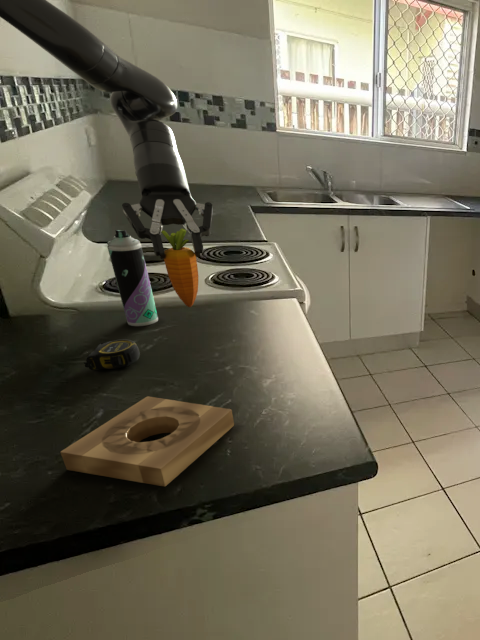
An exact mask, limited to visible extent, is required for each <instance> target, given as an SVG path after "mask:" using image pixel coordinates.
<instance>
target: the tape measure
mask: <svg viewBox="0 0 480 640" xmlns="http://www.w3.org/2000/svg"><path fill="white" fill-rule="evenodd" d="M140 353H141V352H140V349H139V347H138V344H137V343H136V342H135V341H134V340H132V339H116V340H110V341H103V342H101V343H99V344H98V345H97V346H96V347H95V348H94V350H93V351H92V352H91V353H90V354H88V355H87V357H86V359H85V361H83V365H84V367H85V368H88V369H90V370H91V371H98V370H102V369H104V370H115V369H120V368H121V369H122V368H126V367H127V366H130V365H133V364H134V363H136V362H138V360H139V358H140V355H141V354H140Z"/></svg>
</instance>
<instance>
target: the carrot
mask: <svg viewBox="0 0 480 640" xmlns="http://www.w3.org/2000/svg"><path fill="white" fill-rule="evenodd" d="M187 233H188V231H187V230H186V229H185V228H180V229H179V230H177V231H176V232H171V233H170V235H169V233H168V232H167V231H166V230H163V229H162V231H161V234H162V235H163V236H164V237H165V239H166V240H167V241H168V243H169V244H170V246H171V247H170V248H167V249H164V252H165V258H166V259H163V261H164V265H165V270H166V272H167V275H168V279H169V281H170V283H171V285H172V288H173V290H174V292H175V294H176V295H177V296H178V297H179V299H180V301H182V303H183V304H184V305H185V306H186V307H187V308H192V307H193V305H194V303H195V301H196V299H197V295H198V292H199V269H198V261H197V257H196V256H195V252H194V250H193V249H191V248H189V247H187V246H186V245H187V244H188V243H189V242H190V240H189V239H188V238H187V239H185V236H186V234H187Z"/></svg>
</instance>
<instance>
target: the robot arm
mask: <svg viewBox="0 0 480 640" xmlns="http://www.w3.org/2000/svg"><path fill="white" fill-rule="evenodd" d="M0 18H1V19H2V20H4V21H5V22H6V23H8V24H9V25H11V27H13V28H14V29H16V30H17V31H19V32H20V33H22V34H23V35H24V36H26V37H27V38H29V40H31V41H32V42H34V44H36V45H37V46H39V47H40V48H42V49H43V50H44V51H45V52H47V53H48V54H49V55H51V56H52V57H54V59H56V60H57V61H58V62H60V64H62V65H64V66H65V67H66V68H68V69H69V70H70V71H71V72H73V73H74V74H75V75H77V76H78V77H79V78H81V79H82V80H83V81H85V82H86V83H87V84H89V85H90V86H91V87H93V88H94V89H97V90H98V91H100V92H104V93H111V94H110V98H109V104H110V107H111V109H112V110H113V112H114V113H115V115H116V117H117V118H118V119H119V121H120V122H121V124H122V126H123V128H124V130H125V132H126V133H127V135H128V137H129V141H130V146H131V150H132V155H133V167H134V171H135V176H136V179H137V183H138V188H139V192H140V197H141V198H140V200H139V202H138V203H133V204H130V203H129V202H123V203H122V204H121V207H122V212H123V214H124V216H125V218H126V220H127V221H128V223H129V224H130V226H131V227H132V230H133V231H134V233H135V234H136V236H137V237H138V238H139V239H140V240H143V239H144V240H145V239H147V240H150V241H151V243H152V248H153V252H154V255H155V256H156V257H160V258H159V259H161V260H164V259H166V258H165V252H164V251H165V248H164V244H163V240H162V235H161V234H162V233H161V231H163V228H164V226H169V225H179V226H180V225H182V226H183V229H185V230H186V231H187V233H189V235H190V238H191V245H192V248H193V252H194V253H195V256H196V258H197V257H198V258H199V257H201V254H204V244H203V241H202V237H209V236H210V235H211V232H212V231H211V229H212V219H213V204H212V203H211V202H210V201H207V202H205V203H199V202H196V200H194V198H193V197H192V194H191V191H190V186H189V183H188V179H187V175H186V171H185V167H184V164H183V161H182V159H181V156H180V153H179V150H178V145H177V141H176V137H175V135H174V132H173V129H171V127H170V126H169V125H167V124H166V123H164V122H162V121H161V120H165V119H167V118H169V117H171V116H173V115H174V114H176V112H177V110H178V100H177V98H176V96H175V94H174V92H173V91H172V90H171V89H170V87H169V86H168V85H167V84H166V83H165V82H164V81H162V80H161V79H159V78H158V77H157V76H155V75H153V74H152V73H150V72H148V71H146V70H145V69H142V68H141V67H139V66H137V65H135V64H133V63H132V62H130V61H128V60H126V59H124V58H122V57H120V56H119V55H118V54H117V53H116V52H115V51H113V50H112V49H111V48H110V47H109V46H108V45H107V44H106V43H104V42H103V41H102V40H101V39H100V38H98V37H97V36H96V35H95V34H94V32H92V31H91V30H89V29H88V28H86V27H85V26H84V25H83V24H81V23H80V22H78V21H77V20H76V19H75V18H73V17H72V16H70V15H69V14H68V13H66V12H65V11H63V10H62V9H60V8H59V7H57V6H55V5H54V4H52V3H51V2H49V1H48V0H0ZM196 211H197V212H198V214H199V215H200V216H201V217H203V218H202V225H201V226H198V224H196V222H195V221H194V218H193V217H192V216H193V214H194V212H196ZM141 212H144V214H146V215H147V216H149V217H150V218H151V225H150V228H148V227H145V226H144V224H143V223H142V221H141V219H140V217H141Z"/></svg>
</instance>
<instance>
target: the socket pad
mask: <svg viewBox="0 0 480 640" xmlns="http://www.w3.org/2000/svg"><path fill="white" fill-rule="evenodd" d="M234 426H235V420H234V416H233V410H232V409H230V408H225V407H218V406H213V405H207V404H200V403H194V402H187V401H180V400H174V399H168V398H161V397H154V396H148V395H147V396H146V397H144V398H142V399H141V400H139V401H138V402H136V403H134V404H133V405H131V406H130V407H128V408H127V409H125V410H124V411H122V412H120V413H119V414H117V415H115V416H113V418H110V420H108V421H106V422H104V423H103V424H101V425H100V426H98V427H97V428H95V429H93V430H92V431H90V432H89V433H87V434H86V435H84V436H83V437H81V438H79V439H78V440H76V441H75V442H73V443H72V444H70V445H68V446H67V447H66V448H64V449H62V450H61V451H60V455H61V458H62V461H63V463H64V466H65V469H66V470H67V471H72V472H79V473H84V474H89V475H95V476H99V477H100V476H101V477H106V478H112V479H117V480H118V479H119V480H124V481H130V482H136V483H140V484H147V485H153V486H158V487H167V486H168V485H169V484H170V483H171V482H172V481H173V480H175V479H176V478H177V477H178V476H179V475H181V473H183V472H184V471H185V470H186V469H187V468H188V467H190V465H192V464H193V463H194V462H195V461H196V460H197V459H198V458H199V457H200V456H202V455H203V454H204V453H206V451H207V450H208V449H210V448H211V447H212V446H213V445H214V444H215V443H217V441H219V439H221V438H222V437H224V435H226V434H227V433H228V432H229V431H230V430H231V429H232V428H233V427H234ZM160 434H168V435H166V436H164V437H161V438H158V439H155V440H150V441H142V440H145V439H147V438H150V437H153V436H157V435H160Z"/></svg>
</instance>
